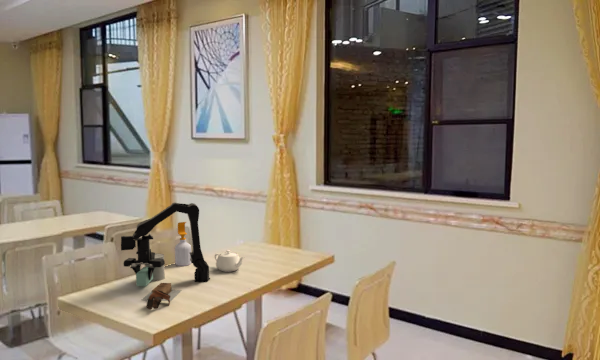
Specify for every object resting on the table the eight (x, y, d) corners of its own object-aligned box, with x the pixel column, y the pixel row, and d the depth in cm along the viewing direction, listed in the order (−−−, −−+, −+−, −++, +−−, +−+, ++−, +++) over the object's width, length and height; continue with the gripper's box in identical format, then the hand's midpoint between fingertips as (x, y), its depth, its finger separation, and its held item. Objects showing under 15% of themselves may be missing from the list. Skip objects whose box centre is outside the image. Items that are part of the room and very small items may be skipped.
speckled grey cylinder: (159, 282, 243) (158, 258, 241) (142, 281, 245) (141, 257, 243) (168, 276, 252) (167, 253, 251) (151, 275, 254) (150, 253, 252)
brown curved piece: (145, 305, 214) (153, 287, 216) (165, 313, 215) (173, 296, 217) (142, 308, 202) (151, 289, 204) (163, 317, 204) (172, 298, 205)
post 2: (171, 291, 229) (171, 283, 229) (167, 294, 224) (167, 286, 224) (161, 290, 230) (161, 282, 229) (157, 294, 225) (156, 286, 224)
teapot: (206, 269, 265) (205, 250, 264) (223, 263, 276) (223, 245, 275) (236, 276, 253) (235, 256, 251) (253, 270, 264) (252, 250, 262)
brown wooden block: (167, 295, 224) (166, 286, 223) (162, 299, 219) (162, 290, 218) (156, 294, 224) (156, 286, 224) (152, 298, 219) (151, 290, 219)
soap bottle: (177, 267, 269) (176, 223, 266) (173, 262, 277) (172, 220, 274) (193, 264, 273) (192, 222, 271) (189, 260, 281) (188, 219, 279)
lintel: (144, 278, 242) (143, 267, 241) (153, 278, 242) (152, 267, 241) (136, 286, 231) (135, 273, 230) (145, 285, 231) (145, 273, 230)
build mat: (182, 291, 230) (181, 290, 230) (171, 301, 216) (171, 300, 216) (153, 290, 232) (153, 289, 232) (141, 300, 218) (141, 299, 218)
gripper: (168, 244, 241) (169, 275, 243) (132, 244, 243) (134, 274, 245) (159, 250, 230) (160, 282, 232) (122, 249, 232) (123, 281, 234)
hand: (144, 279), depth 236 cm, fingers closed on lintel, 5 cm apart
